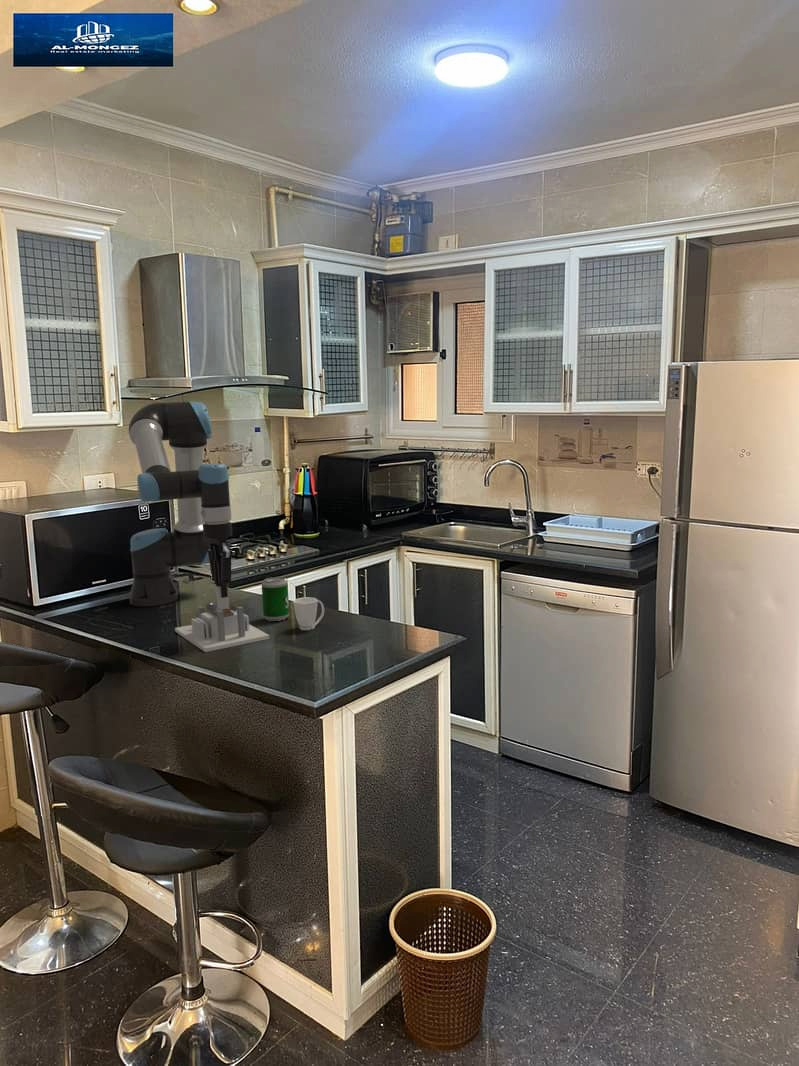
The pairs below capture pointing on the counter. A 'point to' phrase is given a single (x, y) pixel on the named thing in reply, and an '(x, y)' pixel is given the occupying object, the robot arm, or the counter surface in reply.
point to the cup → (307, 612)
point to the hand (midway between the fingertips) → (223, 608)
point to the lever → (214, 609)
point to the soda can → (275, 599)
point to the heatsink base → (220, 630)
